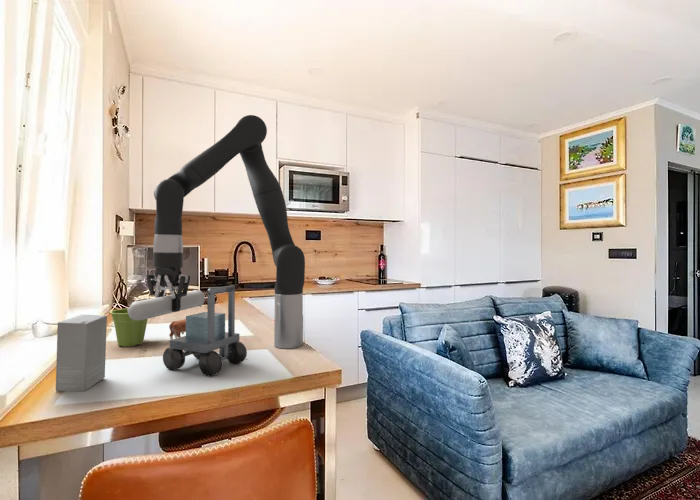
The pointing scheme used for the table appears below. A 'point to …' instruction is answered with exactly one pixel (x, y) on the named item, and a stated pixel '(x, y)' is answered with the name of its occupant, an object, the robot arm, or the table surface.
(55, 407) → the table surface
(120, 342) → the plant pot
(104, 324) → the skincare box
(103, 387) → the table surface
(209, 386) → the table surface
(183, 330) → the bull figurine
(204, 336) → the trolley
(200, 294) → the tube
